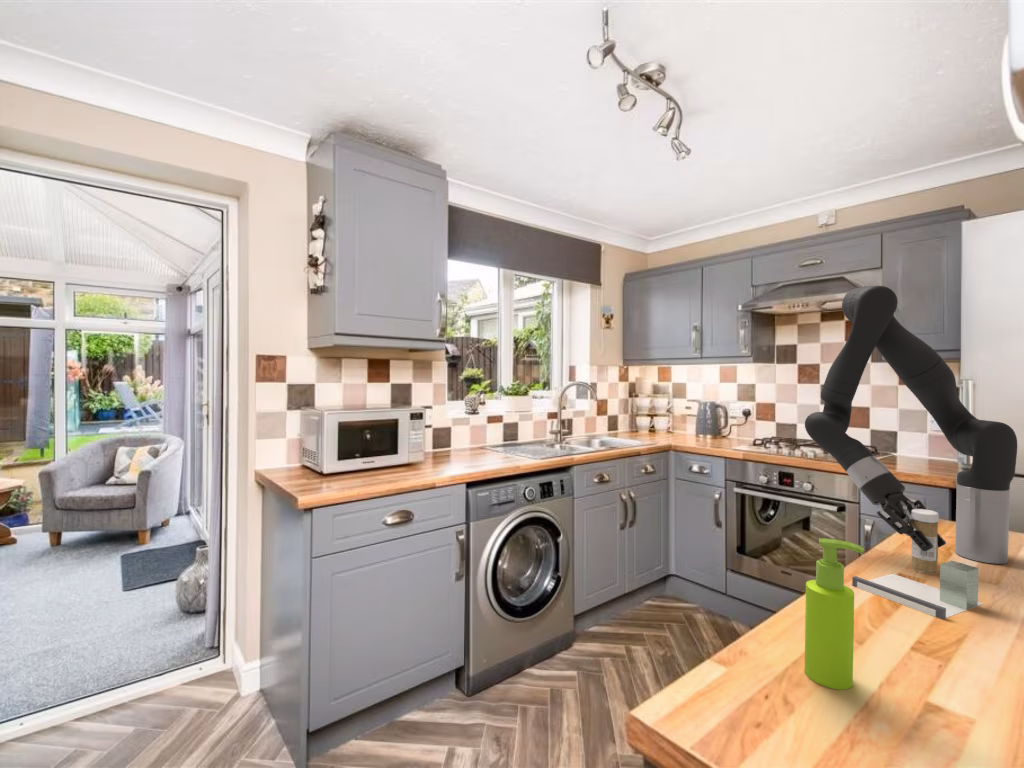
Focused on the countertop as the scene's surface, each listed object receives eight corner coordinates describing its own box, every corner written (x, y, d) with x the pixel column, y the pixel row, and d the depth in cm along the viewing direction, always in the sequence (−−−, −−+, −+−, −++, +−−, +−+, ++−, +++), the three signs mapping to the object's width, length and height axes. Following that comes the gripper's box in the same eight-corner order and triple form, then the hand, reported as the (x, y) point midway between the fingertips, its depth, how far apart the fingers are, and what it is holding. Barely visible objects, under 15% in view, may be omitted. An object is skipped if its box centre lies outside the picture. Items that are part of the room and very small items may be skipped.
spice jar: (939, 572, 106) (940, 511, 106) (936, 578, 103) (937, 515, 103) (912, 566, 110) (913, 506, 109) (908, 572, 106) (909, 510, 106)
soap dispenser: (863, 697, 66) (865, 552, 66) (804, 680, 70) (806, 542, 70) (859, 675, 71) (862, 539, 71) (804, 660, 75) (807, 531, 75)
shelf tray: (892, 580, 105) (892, 565, 104) (982, 611, 91) (983, 594, 91) (851, 592, 99) (851, 577, 99) (942, 627, 85) (942, 609, 85)
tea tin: (950, 596, 94) (951, 560, 94) (977, 605, 90) (978, 568, 90) (939, 600, 92) (940, 563, 92) (966, 610, 88) (967, 571, 88)
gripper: (868, 473, 110) (932, 544, 99) (905, 468, 116) (968, 534, 105) (843, 492, 115) (901, 561, 104) (880, 485, 120) (938, 550, 110)
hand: (935, 547), depth 104 cm, fingers closed on spice jar, 4 cm apart
